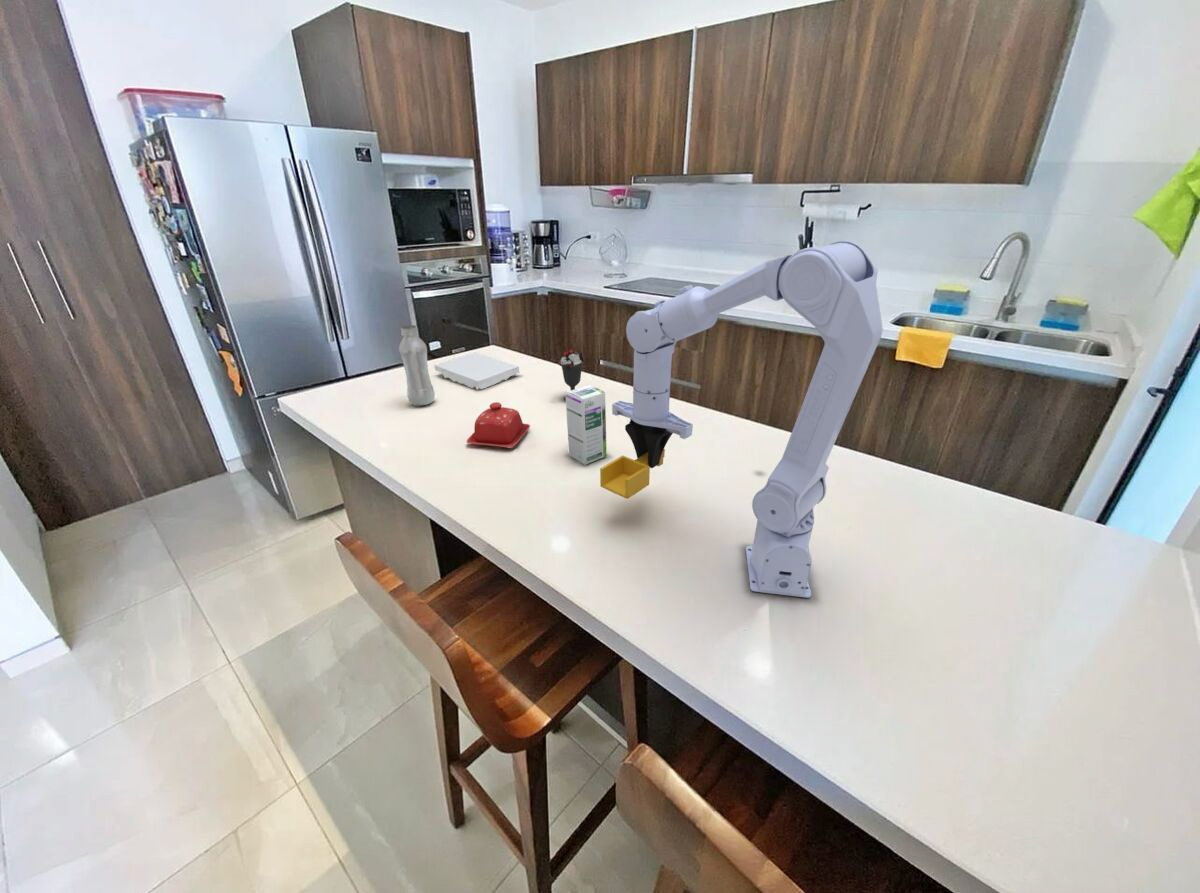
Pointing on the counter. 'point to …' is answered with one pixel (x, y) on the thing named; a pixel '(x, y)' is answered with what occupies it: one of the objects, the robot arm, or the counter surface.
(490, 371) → the food packaging
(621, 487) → the scoop
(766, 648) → the counter surface
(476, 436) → the butter dish
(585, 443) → the syrup box
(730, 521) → the counter surface
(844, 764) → the counter surface
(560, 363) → the sundae
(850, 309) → the robot arm
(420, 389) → the plastic bottle
